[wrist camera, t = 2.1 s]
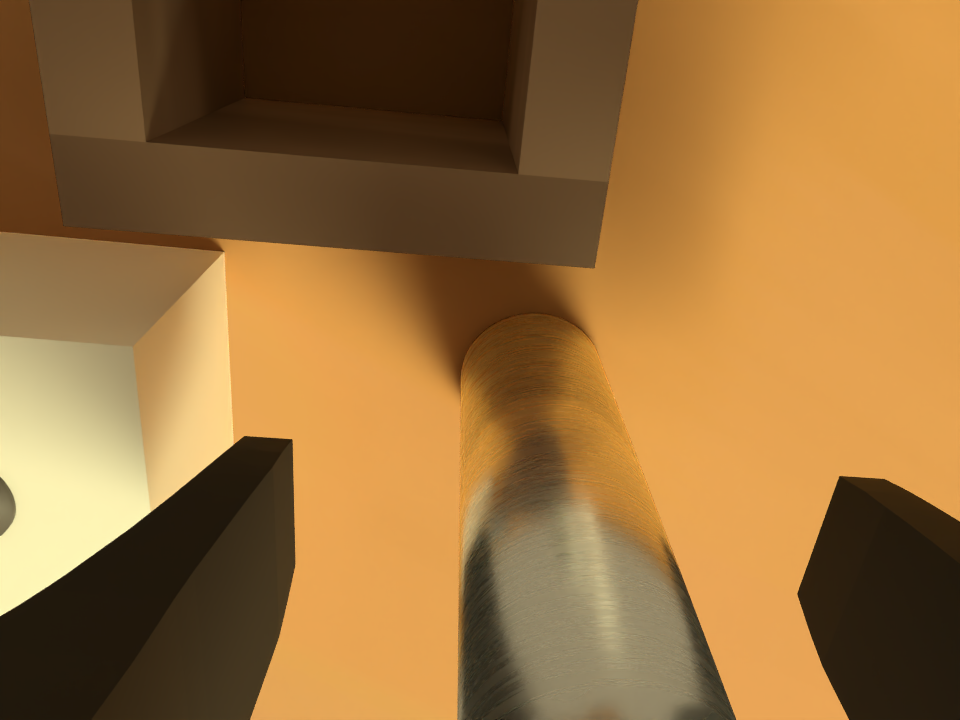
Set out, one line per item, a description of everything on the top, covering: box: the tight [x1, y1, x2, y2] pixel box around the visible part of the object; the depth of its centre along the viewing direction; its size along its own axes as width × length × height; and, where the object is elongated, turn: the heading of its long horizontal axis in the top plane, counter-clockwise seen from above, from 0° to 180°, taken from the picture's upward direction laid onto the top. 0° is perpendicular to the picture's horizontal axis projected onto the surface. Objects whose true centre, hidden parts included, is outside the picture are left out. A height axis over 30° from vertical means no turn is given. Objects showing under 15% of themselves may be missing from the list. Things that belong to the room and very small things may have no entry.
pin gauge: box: [458, 313, 736, 720], centre depth 10 cm, size 3×3×8 cm
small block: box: [0, 232, 234, 616], centre depth 12 cm, size 5×5×4 cm
